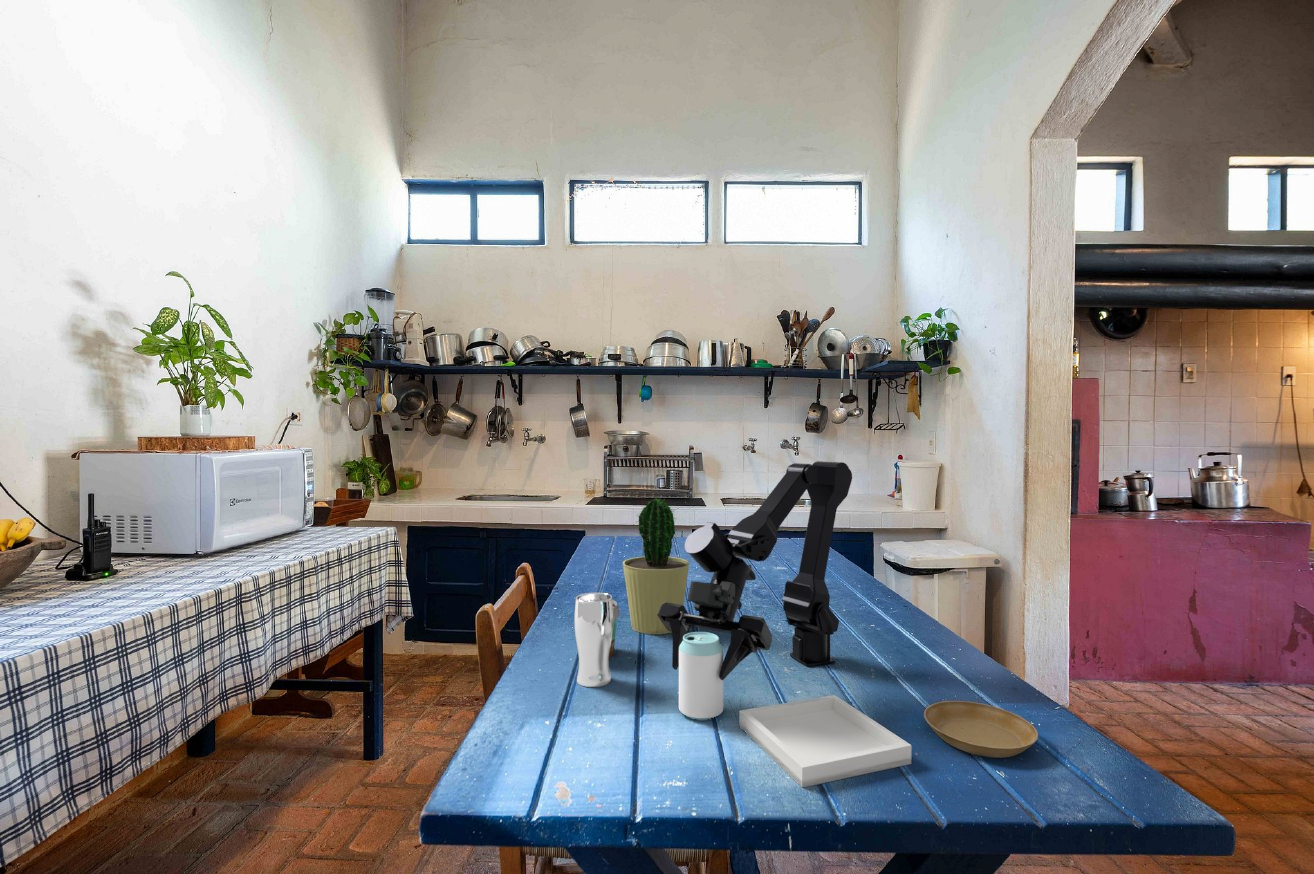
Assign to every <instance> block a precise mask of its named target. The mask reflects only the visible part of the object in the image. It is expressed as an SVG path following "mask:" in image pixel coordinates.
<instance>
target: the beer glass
mask: <svg viewBox="0 0 1314 874" xmlns="http://www.w3.org/2000/svg"><path fill="white" fill-rule="evenodd" d="M612 600H613V596H612V595H611V594H610V593H605V592H585V593H581V594H578V595H577V596H576V597H575V605H574V606H575V607H574V633H575V635H574V636H575V641H576V646H577V647H576V648H577V652H578V653H577V654H578V670H577V677H576V683H577V684H578V685H579V686H581V687H585V688H599V687H603V686H606V685H608V684H609V683H610V682H611V681H612V676H611V670H610V665H609V664H610V660H609V659H610V658H609V652H610V646H611V640H612V633H613V620H614V619H613V602H612Z"/></svg>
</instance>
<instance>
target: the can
mask: <svg viewBox="0 0 1314 874" xmlns="http://www.w3.org/2000/svg"><path fill="white" fill-rule="evenodd" d="M723 661H724V647H723V645H722V643H721V641H720V637H719V635H717V634H715V633H712V632H707V631H693V632H688V634H685V635H684V636H683V641H682V643H681V644H680V646H679V666H678V709H679V712H680V713H682V714H683V715H684V716H685V715H686V716H685V717H687V716H688V717H690V718H693V719H692V720H694V719H699V720H698V721H707V720H706V719H710V720H712V719H711V718H713V719H715V718H717V717H718V716H720V715H721V714H722V713H723V711H724V680H721V679H720V678H719V674H720V670H721V666H722V664H723ZM716 716H717V717H716ZM688 717H687V718H688ZM714 717H715V718H714ZM690 718H689V719H690Z"/></svg>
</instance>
